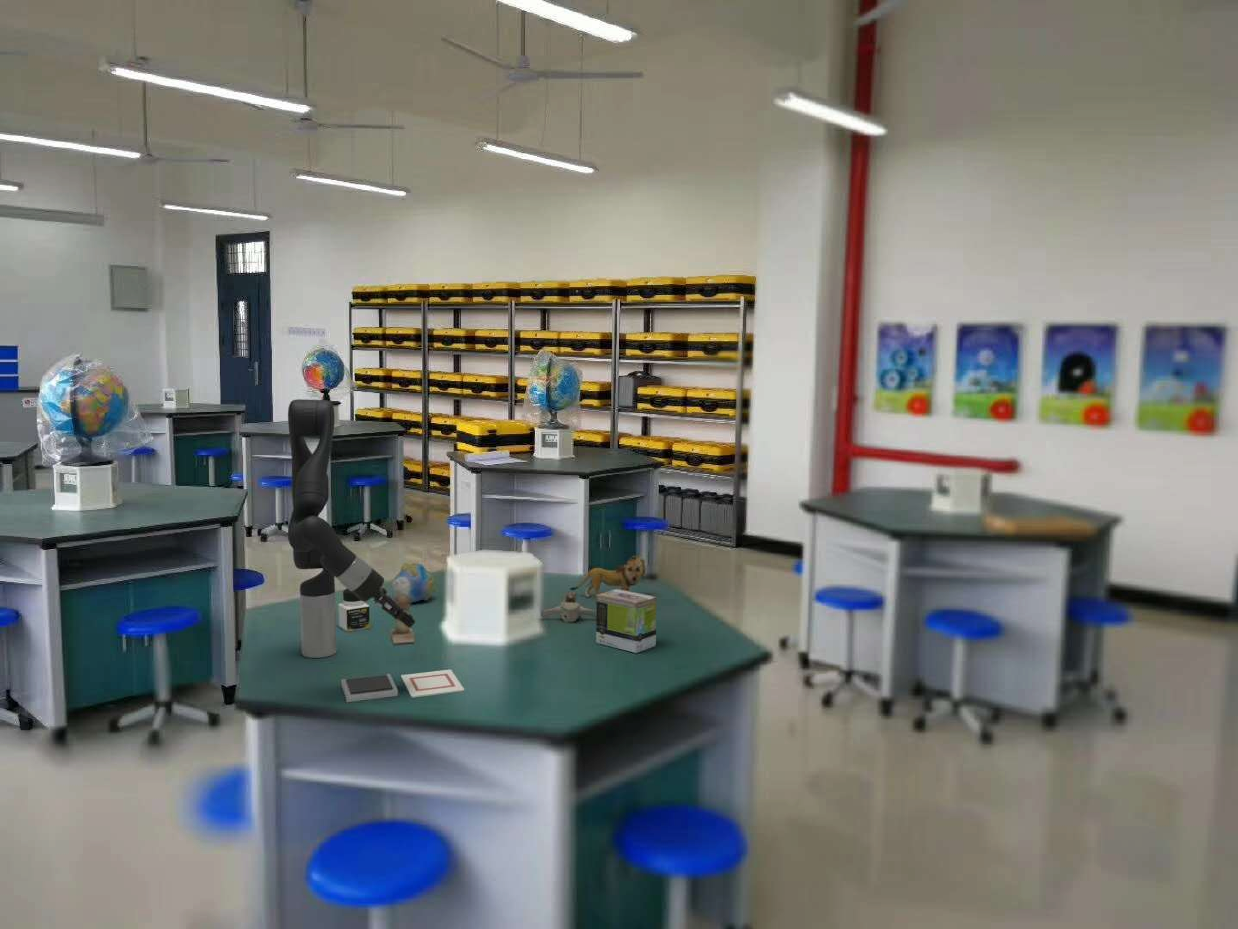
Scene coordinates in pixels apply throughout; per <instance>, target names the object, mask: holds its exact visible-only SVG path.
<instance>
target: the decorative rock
mask: <svg viewBox="0 0 1238 929" xmlns="http://www.w3.org/2000/svg"><path fill="white" fill-rule="evenodd" d="M393 579H394V581H393V582H392V584H391V585H392V586H391V587H392V593H393V596H394V597H395V598H396V597H398V596H399V595H407V596H408V597H409V598H410V600H411V604H414V602H415V603H417V602H419V601H421V600H422V601H427V600H430V598H431V595H433V594H435V593H436V588H435V587H434V584H435V583H436V580H435V578H434V576H433V574H432V573H431V572H430V571H429V570H428V569H426V567H425V566H424V565H423V564H421V563H415V562H414V563H411V564H410V563H407V562H406V563H403V565H402V566H401V567H400V570H399V572H398V573H397V574H396V576H394V578H393Z"/></svg>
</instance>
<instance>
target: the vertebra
mask: <svg viewBox="0 0 1238 929" xmlns="http://www.w3.org/2000/svg"><path fill="white" fill-rule="evenodd" d="M577 597H578V592H574V593H572V592H571V591H569V592H568V593H566V592H563V598H564V600H563V601H561V602H560V605H557V606H555V607H553V608H552V607H551V608H550V609H540V610H541V616H542V618H543V620H544V619H546V618H548V617H550V616H553V615H559V616H558V617H561V618H562V620H563V621H564V622H565V623H574V622H576V621H577V620H578V618H579V616H581V615H583V616H590V617H592V618H593V619H596V609H589V608H586V607H584V606H581V604H580V603H578V602H577Z"/></svg>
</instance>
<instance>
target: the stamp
mask: <svg viewBox="0 0 1238 929" xmlns="http://www.w3.org/2000/svg"><path fill="white" fill-rule="evenodd" d="M395 600H396V601H397V602H398V603H399V605H398V606H399V607H400V608H402V609H403V610H404V611H405V612H406V613H407V614H408V615H409V614H410V607H411V604H412V603H411V600H410V598H409V597H408V596H407V595H399V596H398V597H396V599H395ZM394 604H395V603H394ZM398 611H399V610H396V613H397V612H398ZM390 640H391V642H392V644H393V646H405V645H406V646H407V645H415V632H414V631H413V629H412V627H410V628H409V627H407V626H406V625H405V624H404V623H403V622H402V621H400V620H399V619H395V629H390Z"/></svg>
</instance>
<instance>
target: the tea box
mask: <svg viewBox="0 0 1238 929" xmlns="http://www.w3.org/2000/svg"><path fill="white" fill-rule="evenodd" d="M595 602H596V609H595V610H596V618H595V619H596V621H595V622H596V623H595V624H596V625H595V626H596V627H595V628H596V629H595V632H596V633H595V635H596V638H595V639H596V642H595V643H597V644H600V645H604V646H606V647H607V646H608V647H611V648H615V649H619V650H623V651H625V652H626V651H627V652H631V653H634V654H638V653H640V652H643V651H646V650H648V649H651V648H654V647H656V645H657V644H656V643H657V596H655V595H649V594H645V593H639V592H634V591H625V590H622V589H619V588H616V589H612V590H609V591H605V592H602V593H598V595H597V598H596V601H595Z"/></svg>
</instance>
